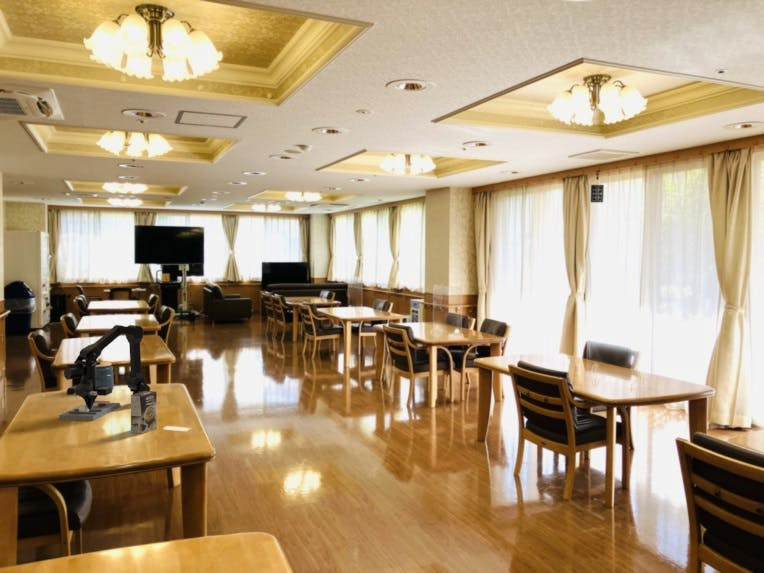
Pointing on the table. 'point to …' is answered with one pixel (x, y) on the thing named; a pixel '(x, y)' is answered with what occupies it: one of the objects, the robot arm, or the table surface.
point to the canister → (104, 374)
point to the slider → (83, 408)
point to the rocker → (101, 401)
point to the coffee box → (143, 412)
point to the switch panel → (90, 412)
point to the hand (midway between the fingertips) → (89, 409)
